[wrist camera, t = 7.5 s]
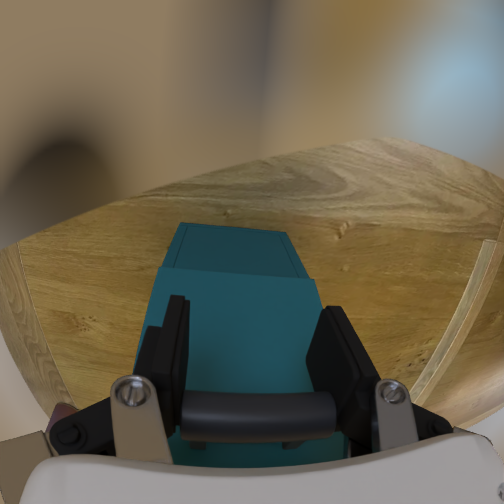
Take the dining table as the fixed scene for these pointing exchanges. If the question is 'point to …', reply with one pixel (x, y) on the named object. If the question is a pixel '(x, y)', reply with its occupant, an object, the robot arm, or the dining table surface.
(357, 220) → the dining table surface
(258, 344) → the lid
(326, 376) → the robot arm
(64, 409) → the beverage can
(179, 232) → the cool box
